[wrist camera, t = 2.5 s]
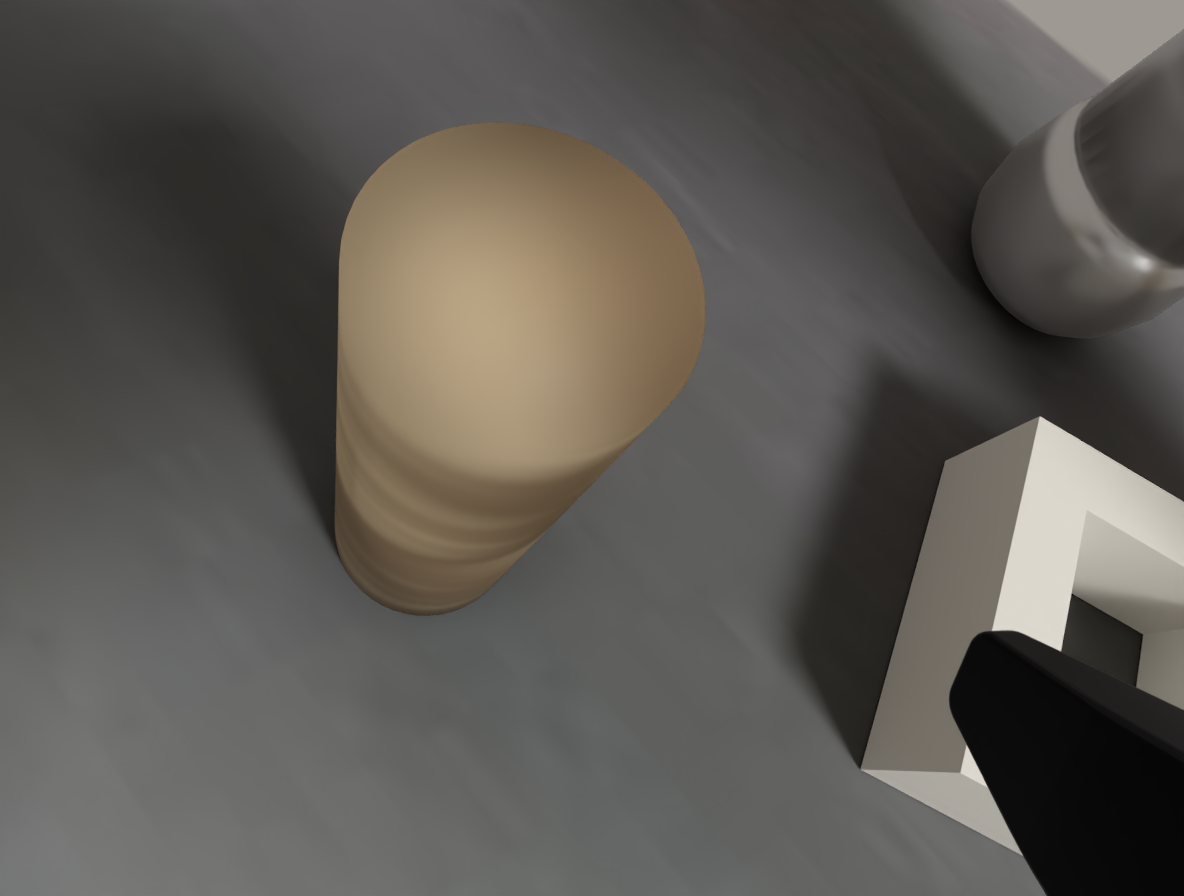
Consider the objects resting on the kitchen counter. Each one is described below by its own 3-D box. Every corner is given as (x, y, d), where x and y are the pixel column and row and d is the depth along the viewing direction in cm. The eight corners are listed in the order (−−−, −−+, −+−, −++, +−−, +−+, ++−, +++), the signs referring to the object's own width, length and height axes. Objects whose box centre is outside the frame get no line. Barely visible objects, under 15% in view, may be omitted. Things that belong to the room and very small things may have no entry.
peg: (362, 639, 18) (401, 497, 8) (314, 466, 19) (295, 140, 9) (536, 585, 19) (757, 405, 9) (484, 426, 20) (634, 108, 10)
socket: (1163, 930, 21) (1313, 963, 18) (860, 769, 20) (960, 772, 17) (1198, 607, 25) (1326, 587, 21) (945, 460, 24) (1039, 415, 21)
